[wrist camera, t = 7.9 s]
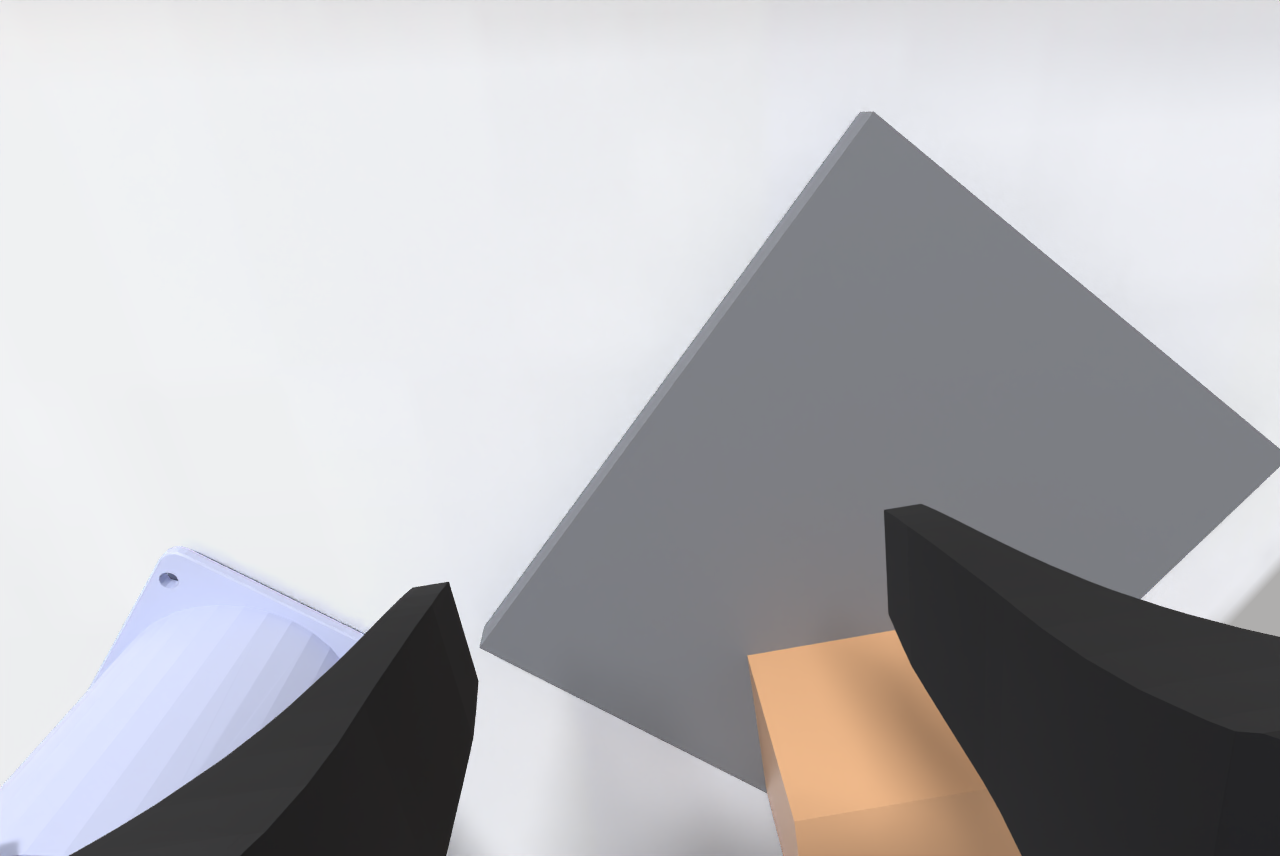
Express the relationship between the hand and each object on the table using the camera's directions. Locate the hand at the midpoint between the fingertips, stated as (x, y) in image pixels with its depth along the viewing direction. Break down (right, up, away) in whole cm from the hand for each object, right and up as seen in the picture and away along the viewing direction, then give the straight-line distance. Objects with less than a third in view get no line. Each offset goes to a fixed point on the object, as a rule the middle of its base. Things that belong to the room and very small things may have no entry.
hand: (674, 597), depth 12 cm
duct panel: (+6, -1, +11) cm, 12 cm away
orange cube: (+6, -6, +12) cm, 15 cm away
